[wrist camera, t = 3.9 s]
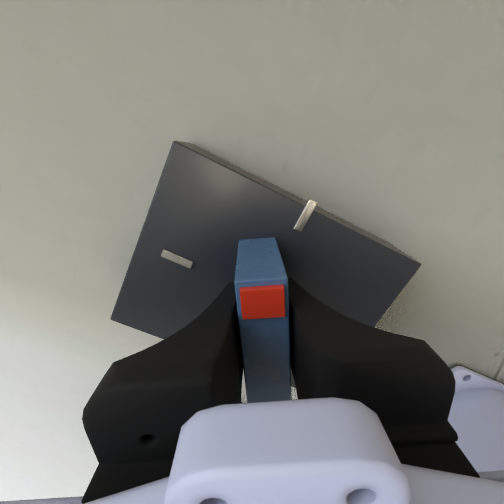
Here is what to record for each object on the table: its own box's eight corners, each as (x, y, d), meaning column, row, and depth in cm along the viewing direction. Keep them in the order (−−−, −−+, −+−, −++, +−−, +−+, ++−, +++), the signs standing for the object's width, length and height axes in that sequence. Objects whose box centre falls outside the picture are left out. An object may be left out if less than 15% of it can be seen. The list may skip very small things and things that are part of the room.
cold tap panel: (393, 238, 15) (429, 259, 12) (306, 362, 18) (318, 404, 15) (192, 135, 13) (175, 130, 10) (132, 294, 16) (105, 327, 13)
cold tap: (280, 340, 14) (293, 418, 10) (248, 342, 14) (248, 421, 10) (275, 236, 12) (289, 281, 8) (238, 239, 12) (233, 285, 8)
